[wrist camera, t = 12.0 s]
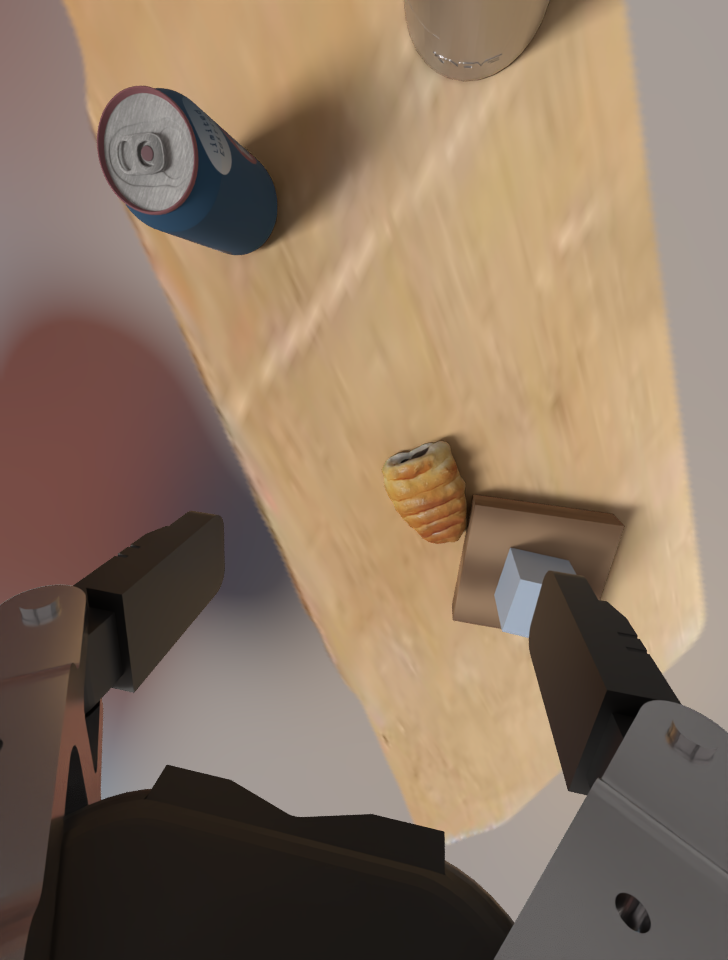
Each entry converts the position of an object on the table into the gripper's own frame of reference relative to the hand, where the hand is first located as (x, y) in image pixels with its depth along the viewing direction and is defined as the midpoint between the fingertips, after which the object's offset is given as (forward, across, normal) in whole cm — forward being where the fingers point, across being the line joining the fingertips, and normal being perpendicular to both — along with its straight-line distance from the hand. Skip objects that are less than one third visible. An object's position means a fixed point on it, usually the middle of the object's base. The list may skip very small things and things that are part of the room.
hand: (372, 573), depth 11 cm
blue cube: (+26, -12, +14) cm, 32 cm away
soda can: (+28, +16, -13) cm, 35 cm away
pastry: (+29, -2, +8) cm, 30 cm away
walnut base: (+29, -12, +14) cm, 34 cm away
